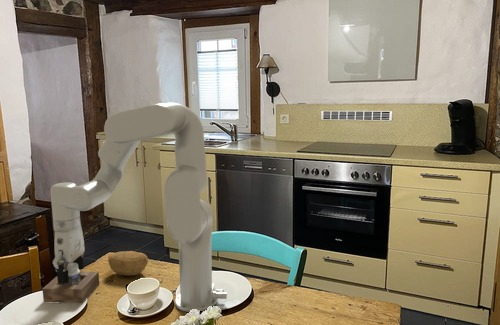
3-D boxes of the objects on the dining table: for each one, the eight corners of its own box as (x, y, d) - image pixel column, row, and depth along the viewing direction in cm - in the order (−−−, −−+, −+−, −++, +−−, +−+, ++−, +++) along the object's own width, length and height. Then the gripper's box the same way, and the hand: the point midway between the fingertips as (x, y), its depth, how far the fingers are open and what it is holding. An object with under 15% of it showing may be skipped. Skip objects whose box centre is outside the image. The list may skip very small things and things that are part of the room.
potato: (118, 266, 145) (116, 245, 143) (153, 270, 142) (152, 249, 140) (102, 278, 135) (101, 256, 134) (139, 282, 132) (138, 260, 131)
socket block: (99, 284, 131) (98, 271, 130) (82, 303, 119) (81, 289, 118) (63, 284, 131) (62, 271, 131) (43, 302, 120) (42, 288, 119)
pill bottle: (74, 294, 122) (72, 269, 121) (61, 292, 123) (59, 267, 122) (84, 287, 127) (82, 262, 125) (71, 285, 128) (69, 261, 126)
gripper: (64, 232, 113) (69, 289, 116) (91, 214, 130) (94, 264, 133) (39, 232, 113) (44, 288, 116) (68, 214, 130) (72, 264, 133)
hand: (71, 275), depth 124 cm, fingers open, 9 cm apart
